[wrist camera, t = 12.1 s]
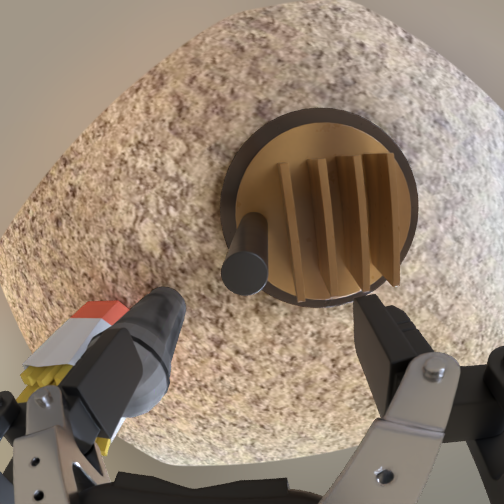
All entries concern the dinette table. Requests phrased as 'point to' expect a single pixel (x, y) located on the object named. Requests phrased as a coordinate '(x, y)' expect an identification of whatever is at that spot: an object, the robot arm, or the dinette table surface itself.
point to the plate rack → (319, 215)
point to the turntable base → (274, 130)
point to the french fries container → (70, 351)
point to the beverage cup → (152, 344)
